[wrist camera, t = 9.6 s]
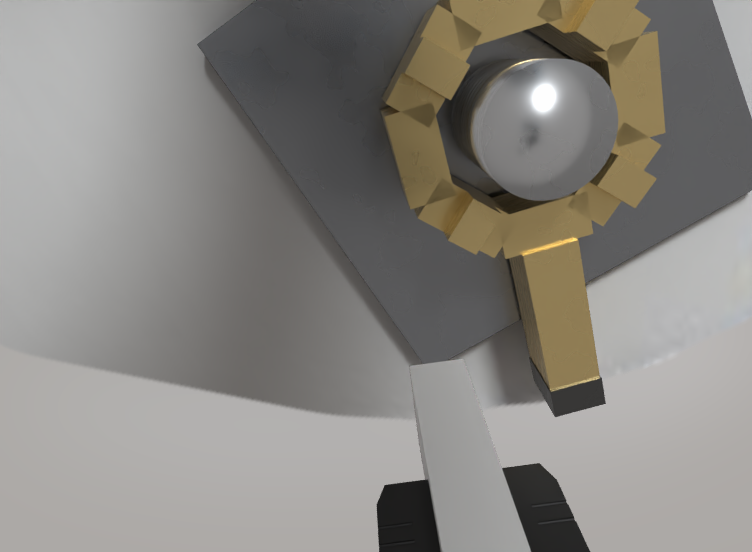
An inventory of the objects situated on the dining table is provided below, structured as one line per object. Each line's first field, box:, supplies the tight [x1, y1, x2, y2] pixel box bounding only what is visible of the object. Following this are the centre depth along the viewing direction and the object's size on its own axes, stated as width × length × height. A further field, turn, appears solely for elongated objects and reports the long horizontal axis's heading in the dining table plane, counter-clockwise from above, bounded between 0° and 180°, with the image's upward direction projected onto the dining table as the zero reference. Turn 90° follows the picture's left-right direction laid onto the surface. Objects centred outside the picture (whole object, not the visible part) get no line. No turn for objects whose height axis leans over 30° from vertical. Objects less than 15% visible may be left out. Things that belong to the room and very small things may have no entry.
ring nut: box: [381, 0, 665, 417], centre depth 24 cm, size 20×11×4 cm, turn 17°
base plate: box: [197, 0, 752, 364], centre depth 23 cm, size 21×20×7 cm
